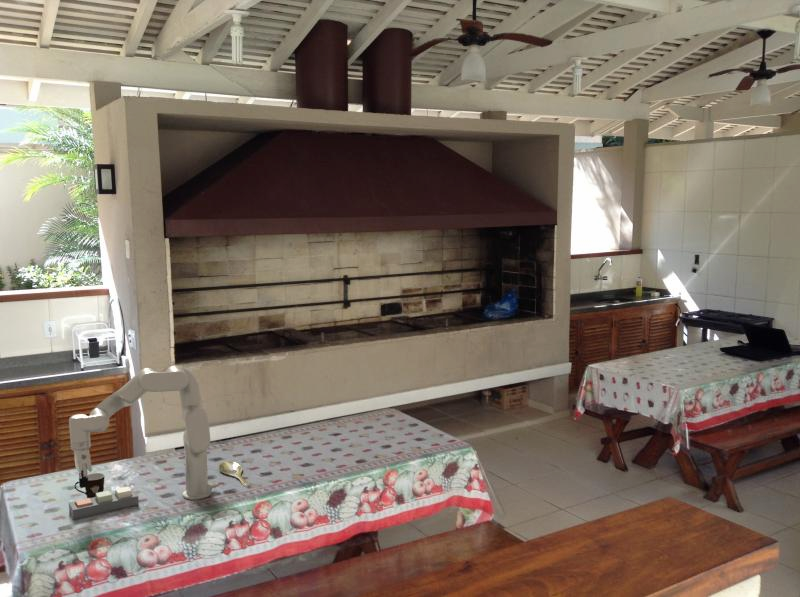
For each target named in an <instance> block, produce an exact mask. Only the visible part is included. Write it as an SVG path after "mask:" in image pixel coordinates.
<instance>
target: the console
mask: <svg viewBox="0 0 800 597" xmlns="http://www.w3.org/2000/svg"><path fill="white" fill-rule="evenodd" d="M130 489H131V488H130ZM131 493H132V496H130V497H125V498H120V499H117V497H116V495H115V492H114V493H113V492H112V493H111V494H112V500H111V501H107V502H102V503H97V501H96V497H93V498H90V500H91V502H92V505H88V506H83V507H79V508H77V507H76V502H75V501H76V500H75V501H70V502H68V511H69V515H70V517H71V519H72V520H73V521H77V520H78V521H79V520H82V519H86V518H87V519H88V518H91V517H95V516H100V515H104V514H108V513H114V512H118V511H122V510H126V509H131V508H135V507H136V508H137V507H139V505H140V502H139V495H138V494H137V493H136V491H135V490H134V488H132V489H131Z"/></svg>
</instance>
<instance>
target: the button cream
mask: <svg viewBox="0 0 800 597" xmlns="http://www.w3.org/2000/svg"><path fill="white" fill-rule="evenodd" d="M114 491H115V492H114V493H115V495H116V497H117V499H120V498H125V497H130V496H132V493H131V488H130V487H129V486H124V487H119V488H115V489H114Z"/></svg>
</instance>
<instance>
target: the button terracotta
mask: <svg viewBox="0 0 800 597" xmlns="http://www.w3.org/2000/svg"><path fill="white" fill-rule="evenodd" d="M75 502H76V507H77V508H79V507H83V506H88V505H92V502H91V500H90V498H87V497H86V498H83V499H77V500H75Z"/></svg>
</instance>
